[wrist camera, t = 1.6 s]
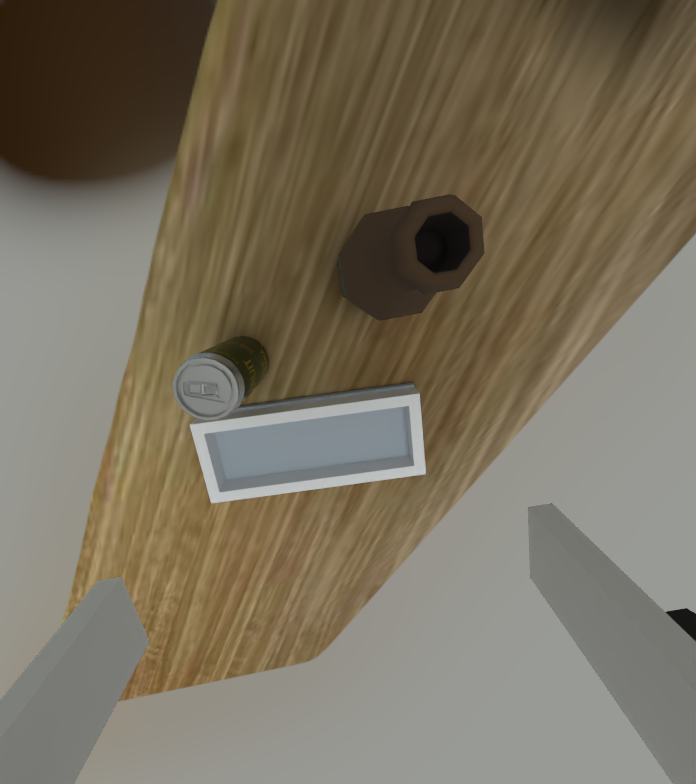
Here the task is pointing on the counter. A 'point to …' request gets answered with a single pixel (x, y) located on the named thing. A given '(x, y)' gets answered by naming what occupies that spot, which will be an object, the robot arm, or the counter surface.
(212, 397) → the beer can
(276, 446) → the tray
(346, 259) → the beer bottle
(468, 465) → the counter surface
